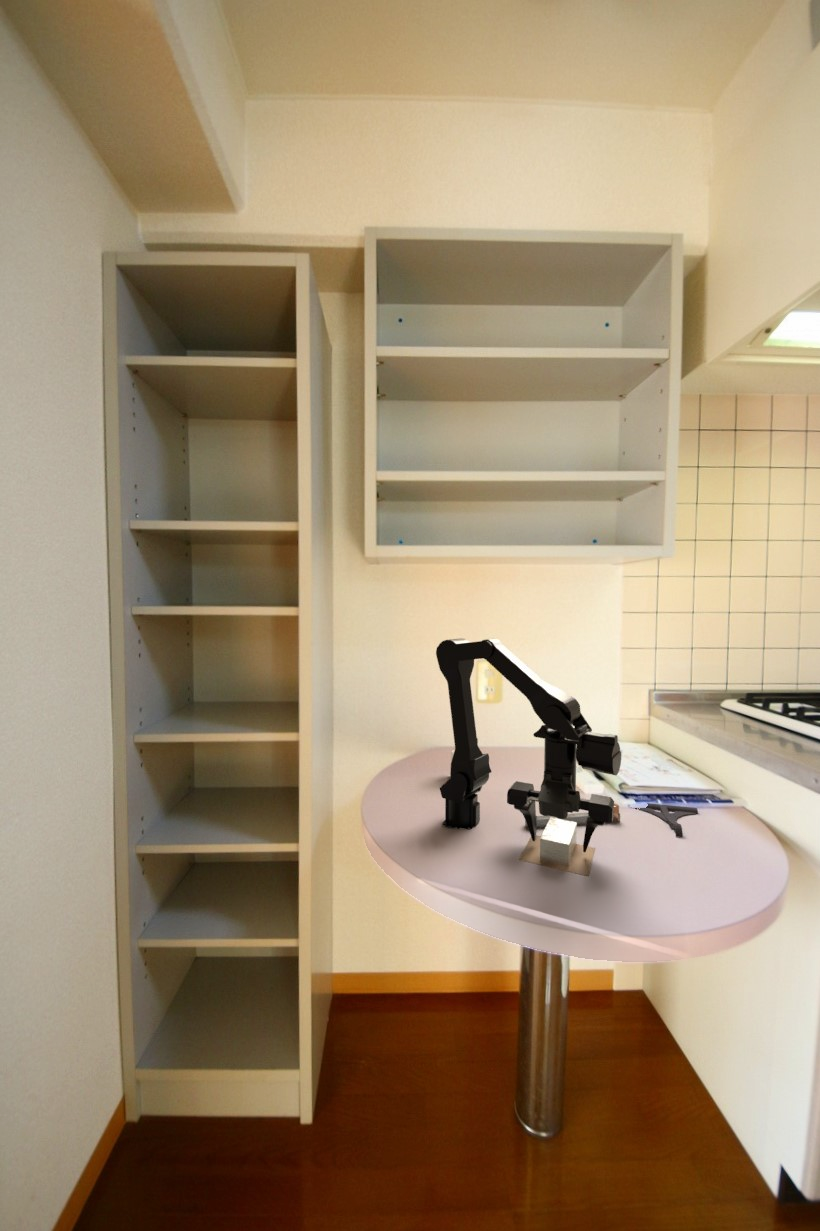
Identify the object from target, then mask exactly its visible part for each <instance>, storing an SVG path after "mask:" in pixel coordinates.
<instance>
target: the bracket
mask: <svg viewBox="0 0 820 1231" xmlns="http://www.w3.org/2000/svg"><path fill="white" fill-rule="evenodd" d="M646 803H647V804H648V806H647V807H646V808H640V809H639V808H638V809H639V810H638V811H641V812H645V813H647V814H650V815H653V816H655V817H657V818H659V819H661V820H662V821H664V822H665V823H667V825H668V826H669V828H670V829H671V830H670V831H674V833H675V837H678V838H679V837H680V838H682V837H683V828H682V824H680V823H679V822H677V821H678V819H680V818H683V817H686V816H688V817H689V816H695V815H698V814H699V811H698V808H697V807H689V806H681V805H673V804H660V803H652V802H646ZM670 812H671V813H670Z"/></svg>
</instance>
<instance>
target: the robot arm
mask: <svg viewBox="0 0 820 1231" xmlns="http://www.w3.org/2000/svg"><path fill="white" fill-rule="evenodd" d="M435 656H436V660H437V663H438V668H439V671H440V672H441V673H442V675H443V677H444V678H445V680H446V683H447V688H448V698H449V706H450V716H451V724H452V733H453V740H454V741H453V742H454V750H455V751H454V755H453V758H452V761H451V762H450V773H449V774H450V775H449V779H448V780H447V781H446V782H445V783H443V784H441V786H440V787H439V791H440V796H441V798H442V799H444V800H445V804H444V805H445V806H444V807H445V809H444V810H445V815H444V816H445V817H444V820H443V821H442V822H441V823H442V824H441V825H442V826H443V827H448V828H453V829H457V830H460V829H463V830H472V829H473V828H474V827H476V826H477V825H478V824H479V822H480V821H481V820H480V819H481V803H480V802H479V801H478V800H479V799H478V798H479V797H478V795H479V794H477V793H478V792H481V790H482V788H483V786H484V785H486V784H487V782H488V780H489V779H490V774H491V773H493V772H492V768H491V767H490V756H489V753H483V752H482V751H481V749H480V747H479V743H478V744H477V739H478V736H477V729H476V727H477V726H476V722H475V721H476V720H475V719H476V718H475V713H474V703H473V695H472V694H473V693H472V686H471V676H472V673H473V670H474V667H475V660H479V659H480V660H483V659H484V660H485V661H487V662H488V663H489V664H490V665H491V666H492V667H493V668H494V669H495V670H496V671H498V672H499V673H500V674H501V676H503V677H504V678H505V679H506V680H507V681H509V683H510V684H512V685H513V687H514V688H516V689H517V690H518V691H519V693H521V694H522V695H523V696H524V697H525V698H527V700H528V702H529V703H530V705H531V707H532V710H533V711H534V713H535V714H536V715H537V717H538V718H539V719H540V720H541V722H542V723H543V724H542V725H541V726H540V728H539V729H538V730H537V731H535V732H534V733H533V734H532V736H533V737H534V738H540V739H544V750H543V751H544V754H543V755H544V757H543V758H544V760H543V764H544V765H543V778H542V782H541V785H540V790H535V787H534V784H533V783H529V782H523V781H518V780H516V781H515V782H514V783H513V784H512V785H511V786H509V789H508V790H507V793H506V796H507V797H506V802H507V804H508V805H513V808H514V809H515V810H517V811H519V812H520V813H521V814H522V816H523V818H524V820H526V823H527V825H528V828H529V829H528V828H527V829H528V831H529V835H530V838H531V837H532V840H533V841H535V840H536V835H537V828H536V816H537V810H536V802H537V803H538V811H539V814H540V816H553V817H557V818H558V819H565V818H567V816H568V814H569V813H570V814H573V812H574V813H580V812H579V811H580V810H583V811H587V813H588V817H587V821H586V824H585V831H584V838H583V843H582V845H583V852H586V850H587V847H588V846H589V844H590V841H591V838H592V836H593V834H594V832H595V830H596V829H597V827H598V826H600V827H602V826H603V827H604V825H605V824H610V823H613V822H612V820H613V814H614V804H615V800H614V799H613V798H612V796H606V795H601V794H600V795H599V794H594V793H591V795H590V798H589V799H587V798H581V793H580V791H579V790H577V787H576V786H577V785H576V784H577V782H576V781H577V764H578V766H579V767H581V768H582V769H584V770H586V771H587V770H588V771H592V772H597V773H603V774H606V775H607V774H608V775H611V776H617V775H618V774H619V772H620V769H621V763H622V751H621V747H620V743H619V741H618V740H619V739H618V738H619V737H618V735H617V734H611V733H609V734H608V733H607V734H605V733H604V734H603V733H598V732H593V729H592V727H591V726H590V724H589V723H588V721H587V720H586V718H585V717H584V715H583V713H581V712H582V711H581V705H580V703H579V702H578V701H579V700H577V699H576V698H575V697H573V696H572V695H570V694H569V693H567V692H565V691H563V690H562V689H560V688H559V687H556V686H554V685H551V684H549V683H548V682H546V681H545V680H543V679H542V678H541V677H539V675H538V674H536V673H535V672H534V671H533V670H531V669H530V668H529V667H528V665H526V664H525V663H524V662H523V661H522V660H521V659H519V658H518V657H517V656H516V655H515V654H514V653H513V652H511V651H510V650H509V649H508V648H507V647H505V646H504V645H503V643H502V642H501V640H499V639H497V638H488V639H482V640H480V641H479V640H478V641H472V642H471V641H469V640H468V639H466V638H453V639H452V638H451V639H445V640H442V641H441V642H440V643H439V644H438V646H437V647H436V650H435Z"/></svg>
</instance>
